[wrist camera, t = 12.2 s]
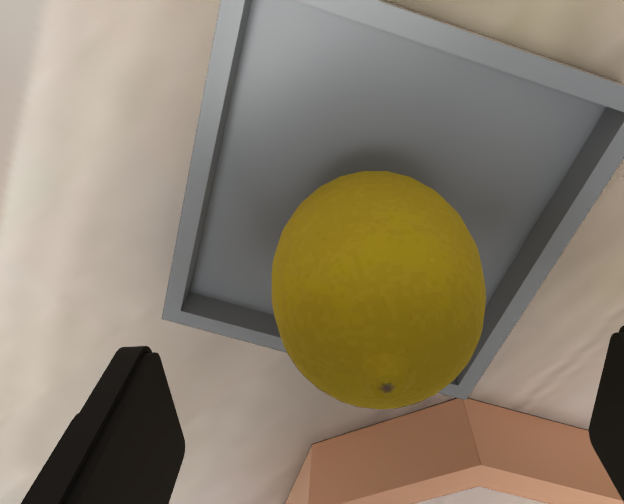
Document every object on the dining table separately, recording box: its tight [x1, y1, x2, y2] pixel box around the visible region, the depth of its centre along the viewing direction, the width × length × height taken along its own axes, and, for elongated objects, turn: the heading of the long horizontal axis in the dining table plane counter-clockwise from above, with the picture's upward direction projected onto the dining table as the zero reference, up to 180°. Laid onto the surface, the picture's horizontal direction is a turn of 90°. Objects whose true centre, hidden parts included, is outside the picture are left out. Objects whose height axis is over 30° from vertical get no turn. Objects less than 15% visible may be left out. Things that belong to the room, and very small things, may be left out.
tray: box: [162, 0, 624, 400], centre depth 17 cm, size 12×12×2 cm
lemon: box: [272, 171, 486, 409], centre depth 13 cm, size 6×6×8 cm
